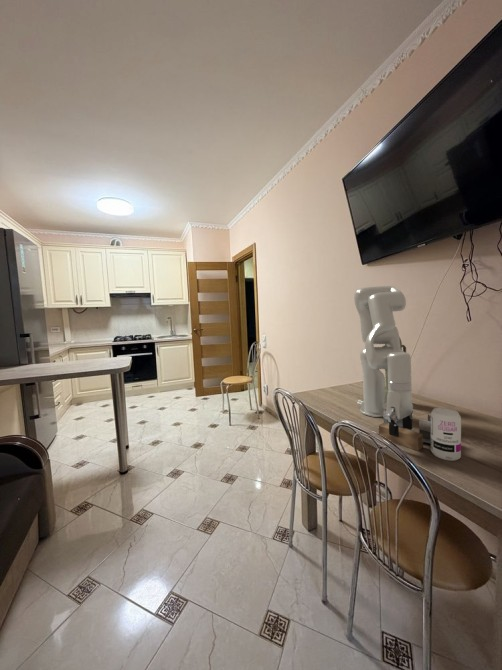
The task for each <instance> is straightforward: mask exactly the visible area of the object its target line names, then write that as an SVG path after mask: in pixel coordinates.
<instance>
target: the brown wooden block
mask: <svg viewBox="0 0 502 670" xmlns="http://www.w3.org/2000/svg"><path fill="white" fill-rule="evenodd" d="M411 430H412V429H411ZM411 430H407V429H404V428H400V427H399V437H395V436H392V435H390V434H389V424H387V423H384V422H383V423H381V424H379V425H378V435H379V434H381V435H383V436H384V437H386V438H387V439H389V440H391V441H392V442H391V441H390V442H391V443H394V444H398V445H400V446H402V447H406V448H409V449H411V450H414V451H417V452H419V451H420V450H422V449H423V448H424V442H423V434H421V433H417V432H418V431H417V432H414V431H415V430H414V431H411Z"/></svg>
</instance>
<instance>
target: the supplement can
mask: <svg viewBox="0 0 502 670" xmlns="http://www.w3.org/2000/svg"><path fill="white" fill-rule="evenodd" d="M430 415H431V444H430V451H431V453H432V454H433V455H434V456H435V457H436V458H439V459H442V460H445V461H452V462H455V461H458V460H459V459H460V458H462V416H461V415H460V413H459V412H458V411H457V410H455V409H451V408H447V407H435V408H433V409H432V410H431V412H430Z"/></svg>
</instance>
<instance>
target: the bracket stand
mask: <svg viewBox="0 0 502 670" xmlns="http://www.w3.org/2000/svg"><path fill="white" fill-rule="evenodd" d="M386 414H387V408H386V409H385V410H384V417H383V423H387V424H388V422H387V418H386ZM393 416H394V415H393ZM395 417H397V416H395ZM393 420H394V422H395V420H396V419H393ZM397 426H399V427H400V428H403V419H400V420H399V422H398V424H397ZM418 427H419V428H418V429H419V431H416V430H413V429H411V431H414V432H417V433H421V434H423V443H427V444H430V445H431V413H429V414H427V420H425V419H418ZM404 429H406V428H404ZM407 430H410V429H407Z"/></svg>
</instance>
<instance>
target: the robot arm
mask: <svg viewBox="0 0 502 670" xmlns="http://www.w3.org/2000/svg"><path fill="white" fill-rule="evenodd" d="M354 305H355V308H356V310H357V312H358V315H359V319H360V320H359V321H360V333H361V339H362V342H363V343H364V348H363V349H362V350H361V351H360V353H359V354H360V355H359V356H360V361H361V366H362V367H361V369H362V391H363V394H362V395H363V400H361V399H358V400H357V403H356V405H358V406H360V409H359V411H360V413H361V414H362V415H365V416H368V417H373V418H382V417H383V418H384V410H385V409H387V414H386V418H387V422H388V424H389V434H390V435H392V436H395V437H399V426H397V424H398V422H399V420H400V419H403V428H406V429H410V430H413V413H414V411H413V409H414V404H413V399H412V398H413V397H412V392H413V391H412V389H413V388H412V358H411V355H410V353H408V352H406V353H405V352H404V351H403V349H402V350H401V348H400V339H401V338H400V339H399V337H400V333H399V329H398V327H397V326H396V321H395V317H394V312H402V311H403V310H404V309H405V308H406V307H407V300H406V297H405V295H404V293H403V292H402V291H401V290H399V289H398V288H397V287H395V286H392V285H384V286H381V285H380V286H367V287H361V288H359V289H356V291H355V293H354ZM385 344H386V345H387V346H388V347H382V346H374V345H385ZM385 369H388V390H389V391H388V395H387V403H386V402H385V387H386V382H385V375H384V374H385V373H383V372H382V371H381V370H385ZM393 415H394V416H393ZM395 416H397V417H395ZM393 419H396V420H395V422H394V420H393Z"/></svg>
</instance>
